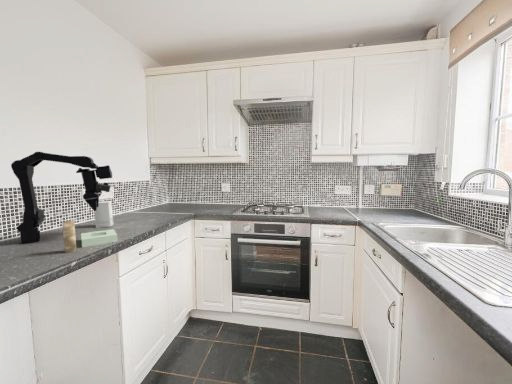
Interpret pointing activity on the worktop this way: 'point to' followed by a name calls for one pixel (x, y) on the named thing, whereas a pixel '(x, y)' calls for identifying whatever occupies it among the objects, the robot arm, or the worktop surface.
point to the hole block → (98, 237)
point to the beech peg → (69, 236)
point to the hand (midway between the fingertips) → (96, 208)
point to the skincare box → (104, 214)
